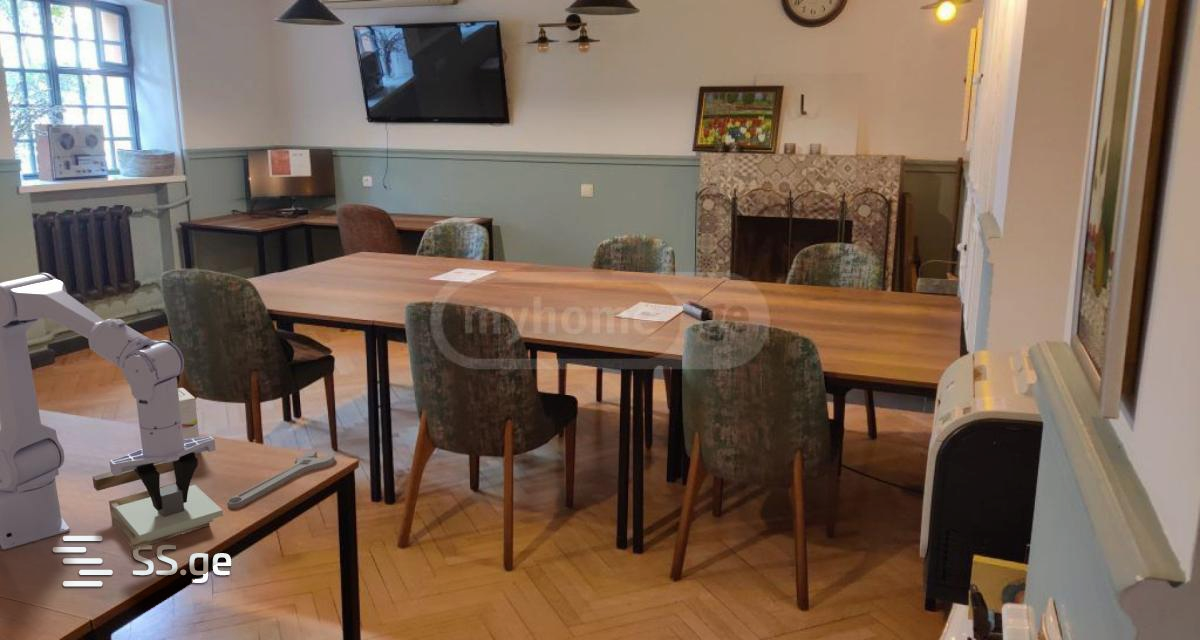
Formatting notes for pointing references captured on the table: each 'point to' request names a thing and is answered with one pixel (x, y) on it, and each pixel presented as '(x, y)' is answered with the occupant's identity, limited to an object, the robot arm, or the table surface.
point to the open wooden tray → (125, 529)
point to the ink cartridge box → (188, 414)
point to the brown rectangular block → (125, 476)
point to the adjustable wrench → (281, 478)
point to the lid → (168, 513)
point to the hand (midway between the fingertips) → (170, 504)
